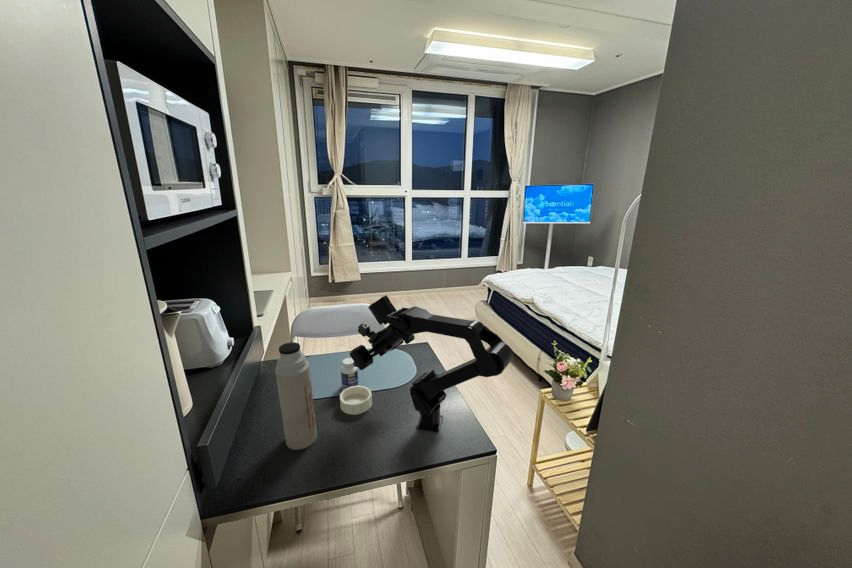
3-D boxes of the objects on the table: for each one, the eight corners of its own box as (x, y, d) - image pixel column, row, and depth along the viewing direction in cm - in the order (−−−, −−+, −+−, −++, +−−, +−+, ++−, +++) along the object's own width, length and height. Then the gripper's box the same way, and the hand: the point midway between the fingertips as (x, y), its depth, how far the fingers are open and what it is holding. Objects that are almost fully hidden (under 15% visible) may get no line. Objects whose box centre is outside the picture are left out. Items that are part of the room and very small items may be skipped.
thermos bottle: (322, 430, 97) (312, 340, 88) (307, 452, 90) (295, 356, 81) (296, 426, 98) (284, 337, 90) (279, 447, 91) (264, 352, 82)
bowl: (364, 417, 102) (363, 407, 101) (334, 411, 104) (333, 401, 103) (376, 397, 111) (376, 388, 110) (349, 392, 113) (348, 383, 112)
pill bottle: (349, 393, 113) (347, 367, 110) (338, 387, 116) (336, 361, 113) (361, 385, 117) (360, 360, 114) (351, 379, 120) (349, 355, 117)
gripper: (395, 303, 108) (370, 326, 117) (352, 324, 93) (327, 349, 102) (416, 332, 106) (388, 354, 116) (376, 359, 92) (348, 381, 101)
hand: (364, 358), depth 109 cm, fingers open, 9 cm apart
